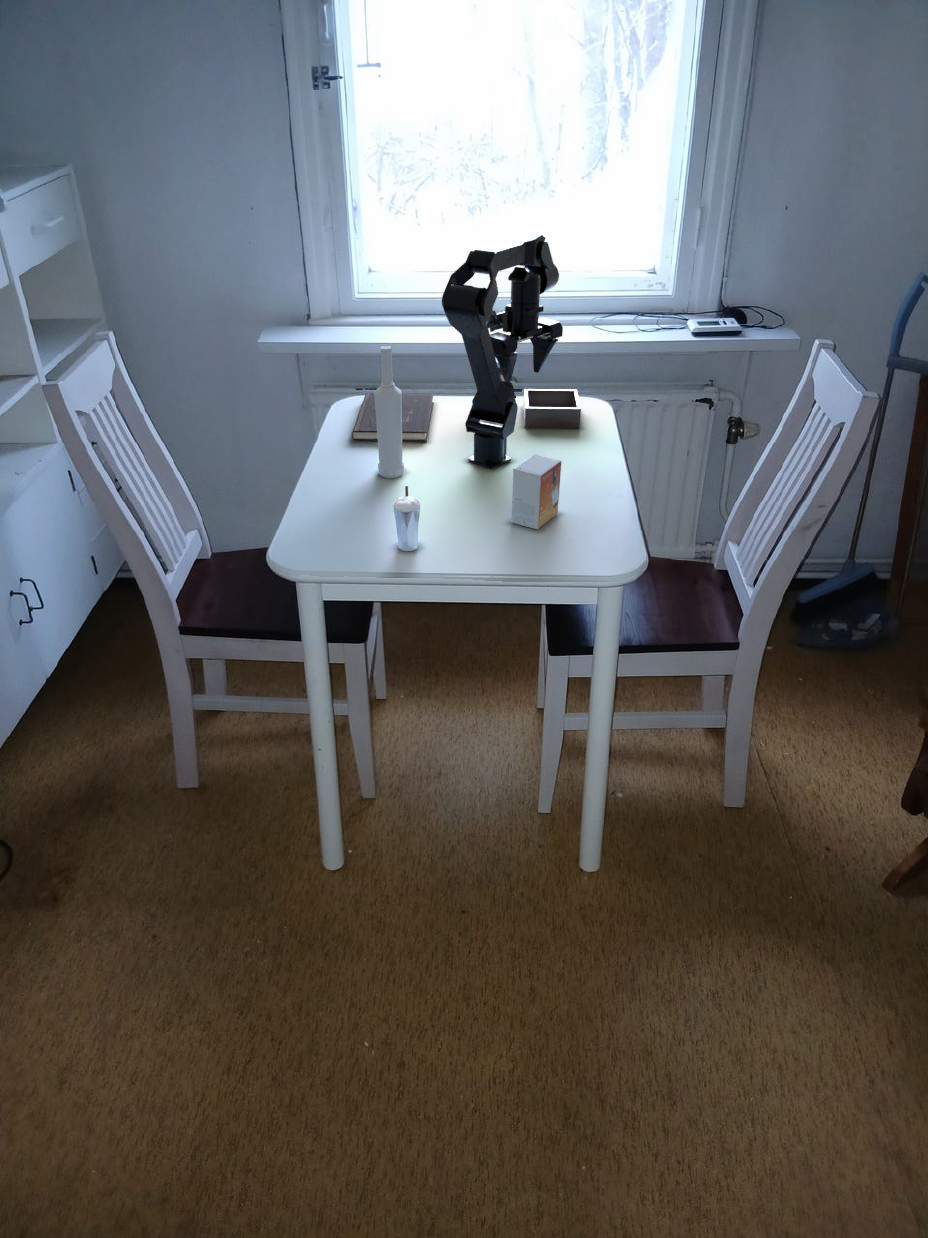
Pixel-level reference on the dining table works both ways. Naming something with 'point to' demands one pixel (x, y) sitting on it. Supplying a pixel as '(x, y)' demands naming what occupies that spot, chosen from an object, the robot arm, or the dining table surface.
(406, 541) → the milkshake
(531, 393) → the crate
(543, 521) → the small box
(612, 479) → the dining table surface
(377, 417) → the bottle
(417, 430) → the hardcover book
